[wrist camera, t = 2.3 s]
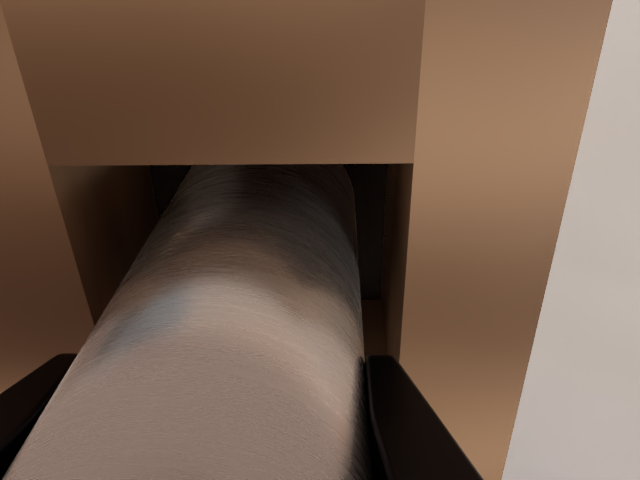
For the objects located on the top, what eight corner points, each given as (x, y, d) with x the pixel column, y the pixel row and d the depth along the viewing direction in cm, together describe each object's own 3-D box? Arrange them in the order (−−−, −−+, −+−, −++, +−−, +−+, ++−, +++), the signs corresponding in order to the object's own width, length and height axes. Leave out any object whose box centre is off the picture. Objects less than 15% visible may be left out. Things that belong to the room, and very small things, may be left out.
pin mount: (460, 366, 15) (496, 498, 12) (107, 364, 15) (40, 491, 12) (520, -35, 10) (615, -15, 7) (-7, -25, 10) (-177, -1, 7)
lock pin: (365, 286, 14) (427, 1080, 4) (187, 286, 14) (-133, 1053, 4) (370, 109, 12) (527, 980, 2) (157, 111, 12) (-638, 927, 2)
